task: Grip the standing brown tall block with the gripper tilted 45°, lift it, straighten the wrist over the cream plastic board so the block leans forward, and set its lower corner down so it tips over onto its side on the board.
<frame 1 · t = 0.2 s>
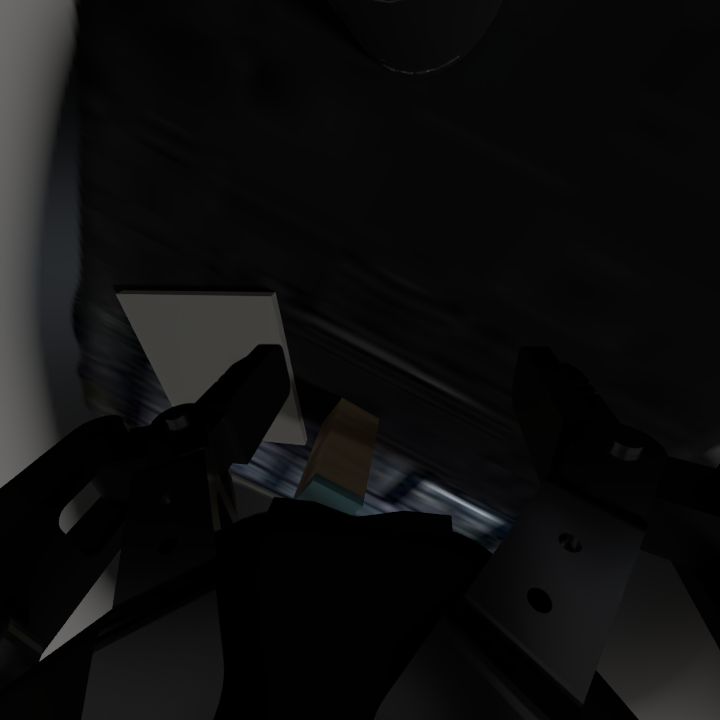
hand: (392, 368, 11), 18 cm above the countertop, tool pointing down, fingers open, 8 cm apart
brown tall block: (350, 420, 39), on the countertop
cream board: (224, 372, 38), on the countertop
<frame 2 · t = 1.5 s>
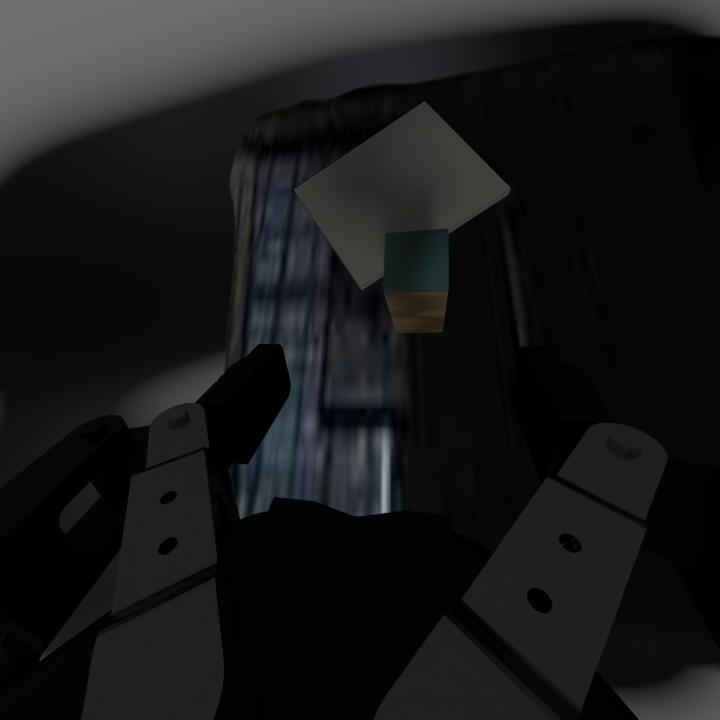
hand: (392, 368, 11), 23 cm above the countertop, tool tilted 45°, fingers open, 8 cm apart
brown tall block: (419, 311, 36), on the countertop
cream board: (394, 194, 40), on the countertop
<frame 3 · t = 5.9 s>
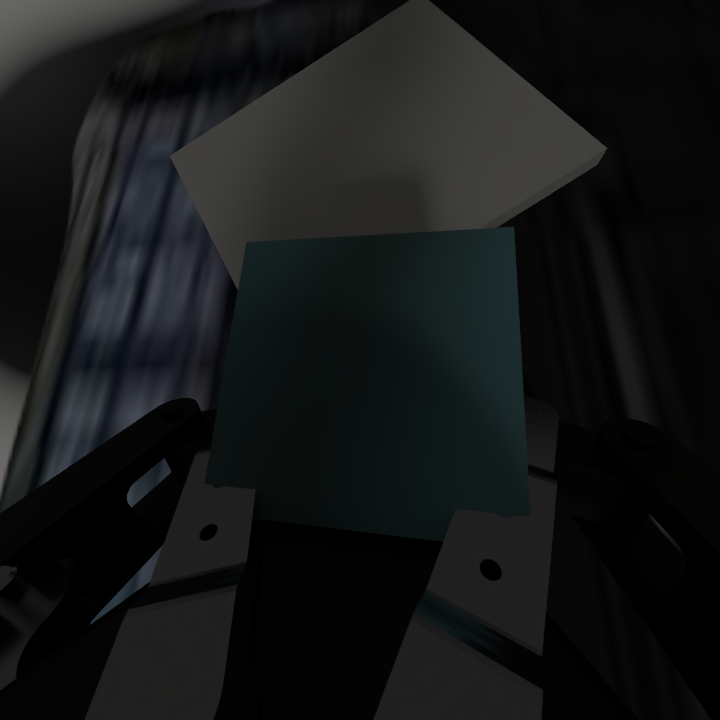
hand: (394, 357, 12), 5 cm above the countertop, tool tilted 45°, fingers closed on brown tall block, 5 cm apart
brown tall block: (401, 419, 16), on the countertop, touching gripper
cream board: (358, 166, 20), on the countertop
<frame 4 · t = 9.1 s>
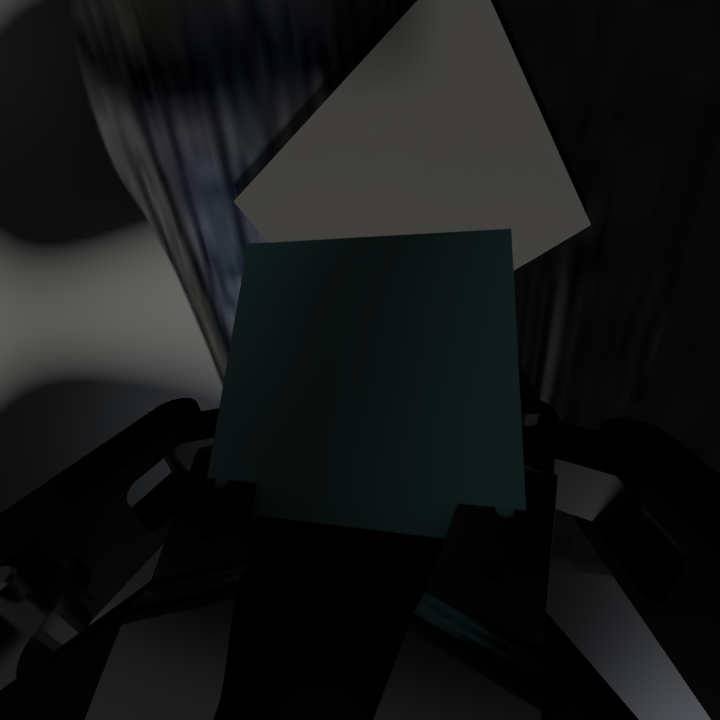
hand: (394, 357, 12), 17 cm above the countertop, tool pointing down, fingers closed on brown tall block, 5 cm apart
brown tall block: (402, 419, 16), point 15 cm above the countertop, tilted 45°, touching gripper
cream board: (401, 210, 25), on the countertop
when the fingers open (5 cm above the countertop, at t = 12.6 s): brown tall block moves 2 cm and tips over, resting on cream board.
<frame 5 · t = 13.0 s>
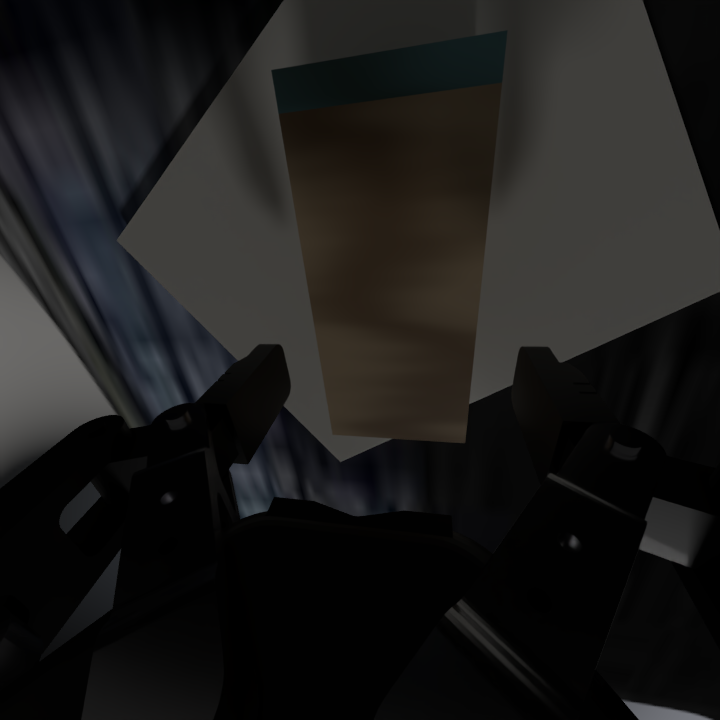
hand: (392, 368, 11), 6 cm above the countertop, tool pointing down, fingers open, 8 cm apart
brown tall block: (400, 398, 14), point 3 cm above the countertop, tilted 90°, touching cream board
cream board: (389, 253, 15), on the countertop
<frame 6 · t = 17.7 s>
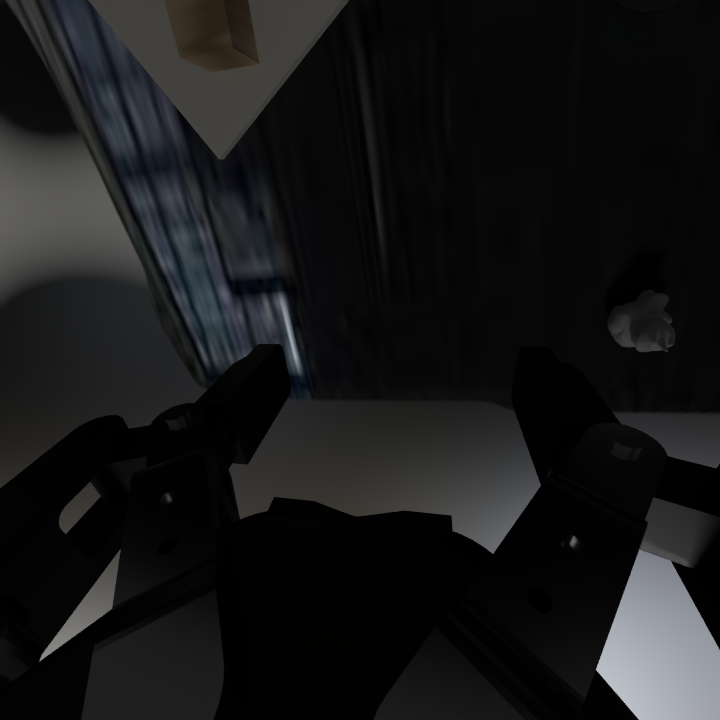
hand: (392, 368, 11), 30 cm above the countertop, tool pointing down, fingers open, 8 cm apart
brown tall block: (221, 61, 29), point 3 cm above the countertop, tilted 90°, touching cream board
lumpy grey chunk: (627, 310, 37), on the countertop
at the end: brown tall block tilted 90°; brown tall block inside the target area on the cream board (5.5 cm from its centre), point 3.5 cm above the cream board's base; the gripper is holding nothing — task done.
